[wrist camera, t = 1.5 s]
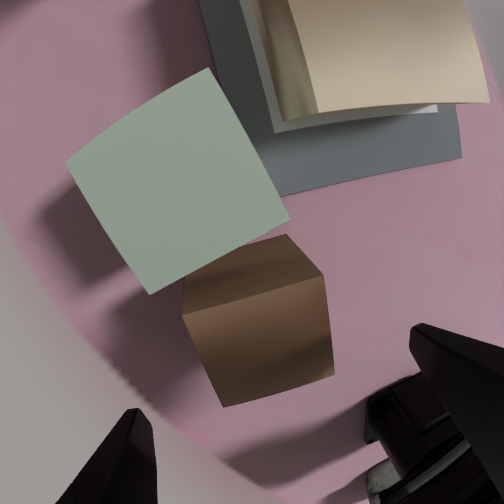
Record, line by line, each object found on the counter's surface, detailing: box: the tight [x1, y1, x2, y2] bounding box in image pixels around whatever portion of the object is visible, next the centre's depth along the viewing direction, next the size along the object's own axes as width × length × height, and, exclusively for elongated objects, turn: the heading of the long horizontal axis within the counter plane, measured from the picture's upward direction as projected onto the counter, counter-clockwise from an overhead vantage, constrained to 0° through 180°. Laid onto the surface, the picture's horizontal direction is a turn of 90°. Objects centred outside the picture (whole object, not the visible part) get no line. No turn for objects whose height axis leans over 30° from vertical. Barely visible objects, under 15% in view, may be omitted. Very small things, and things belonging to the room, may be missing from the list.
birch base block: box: [250, 0, 490, 122], centre depth 8 cm, size 8×8×4 cm
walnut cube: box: [182, 234, 335, 408], centre depth 12 cm, size 4×4×4 cm
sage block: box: [65, 67, 291, 295], centre depth 9 cm, size 4×4×4 cm
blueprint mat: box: [198, 0, 462, 197], centre depth 10 cm, size 14×12×1 cm
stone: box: [366, 457, 401, 504], centre depth 23 cm, size 9×9×10 cm
